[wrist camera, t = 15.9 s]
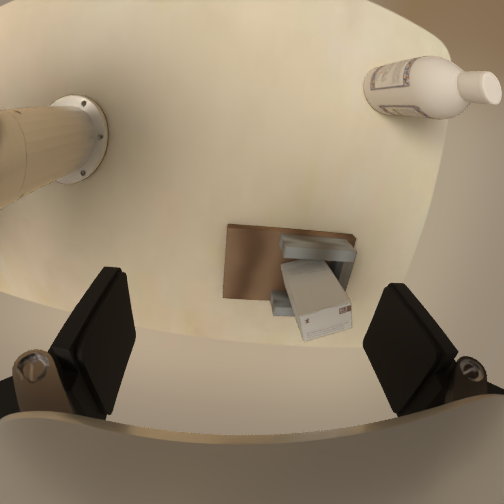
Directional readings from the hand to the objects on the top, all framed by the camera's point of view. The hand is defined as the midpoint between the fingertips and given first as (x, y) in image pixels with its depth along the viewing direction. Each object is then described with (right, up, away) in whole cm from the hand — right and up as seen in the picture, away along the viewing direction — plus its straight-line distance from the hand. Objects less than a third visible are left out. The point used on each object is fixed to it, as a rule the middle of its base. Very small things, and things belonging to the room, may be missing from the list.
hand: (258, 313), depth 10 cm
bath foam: (+18, +24, +21) cm, 36 cm away
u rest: (+5, 0, +32) cm, 32 cm away
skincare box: (+7, 0, +31) cm, 32 cm away
